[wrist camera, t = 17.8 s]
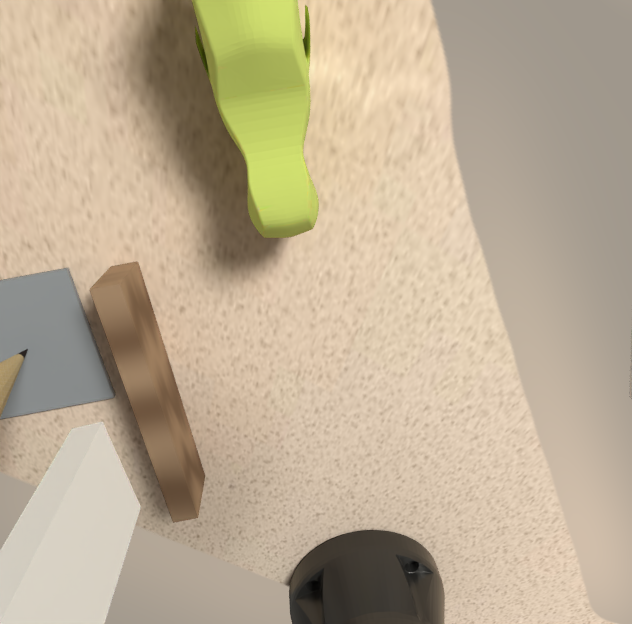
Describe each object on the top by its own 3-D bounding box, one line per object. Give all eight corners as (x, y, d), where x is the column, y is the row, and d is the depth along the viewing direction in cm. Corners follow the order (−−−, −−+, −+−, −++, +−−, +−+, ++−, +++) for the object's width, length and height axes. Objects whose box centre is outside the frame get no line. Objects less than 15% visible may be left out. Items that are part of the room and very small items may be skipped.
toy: (198, -27, 38) (249, 251, 38) (113, -280, 21) (206, 219, 22) (284, -42, 38) (334, 236, 38) (268, -306, 21) (356, 193, 22)
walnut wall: (205, 476, 47) (198, 517, 42) (182, 480, 47) (173, 522, 42) (137, 261, 39) (120, 283, 34) (110, 266, 39) (89, 289, 34)
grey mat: (115, 395, 43) (114, 397, 42) (-7, 418, 43) (-10, 420, 42) (68, 267, 39) (66, 269, 38) (-68, 292, 39) (-71, 294, 38)
